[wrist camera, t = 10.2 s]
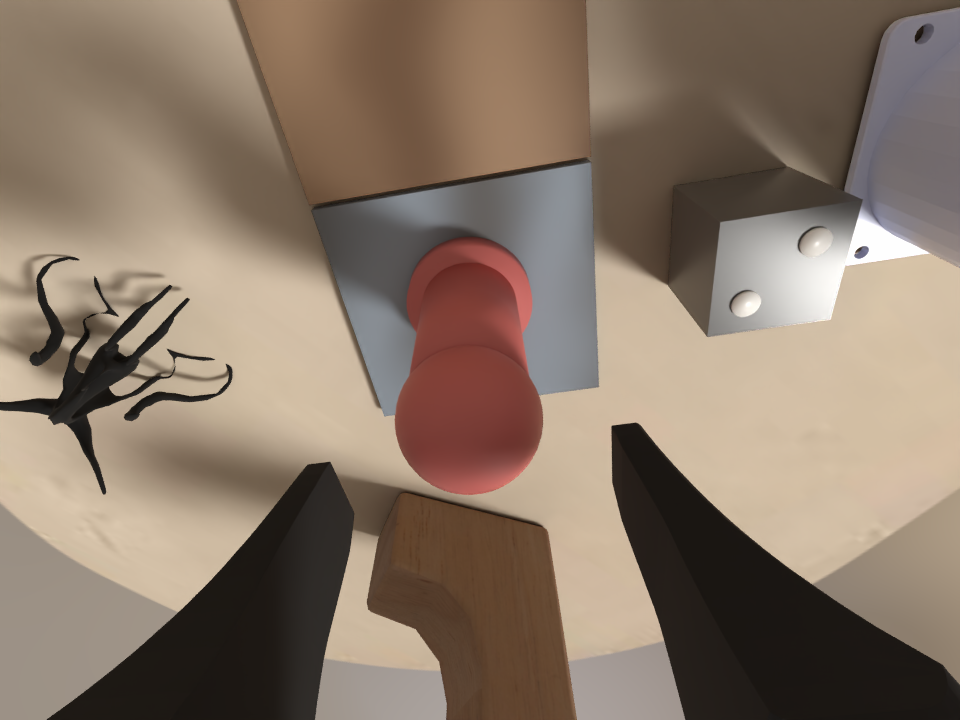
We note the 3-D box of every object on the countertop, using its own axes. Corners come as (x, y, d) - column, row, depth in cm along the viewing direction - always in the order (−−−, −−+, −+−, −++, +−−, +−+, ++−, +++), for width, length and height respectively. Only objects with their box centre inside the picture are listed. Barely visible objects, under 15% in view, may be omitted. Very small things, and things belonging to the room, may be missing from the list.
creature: (103, 209, 19) (-14, 345, 20) (11, 237, 14) (-134, 412, 16) (271, 338, 23) (162, 448, 24) (243, 396, 18) (108, 529, 19)
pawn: (522, 227, 18) (562, 380, 10) (535, 337, 21) (574, 525, 13) (395, 247, 18) (340, 410, 11) (424, 353, 21) (396, 545, 13)
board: (527, -1535, 6) (531, -1620, 6) (596, 381, 23) (598, 387, 22) (-186, -1220, 7) (-220, -1283, 7) (385, 410, 23) (384, 416, 23)
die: (788, 166, 17) (865, 200, 14) (769, 270, 20) (832, 320, 16) (673, 185, 18) (721, 223, 14) (667, 285, 20) (708, 338, 17)
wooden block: (377, 537, 29) (277, 1085, 14) (399, 487, 26) (308, 1082, 12) (517, 569, 31) (562, 1078, 16) (549, 525, 28) (637, 1074, 14)
